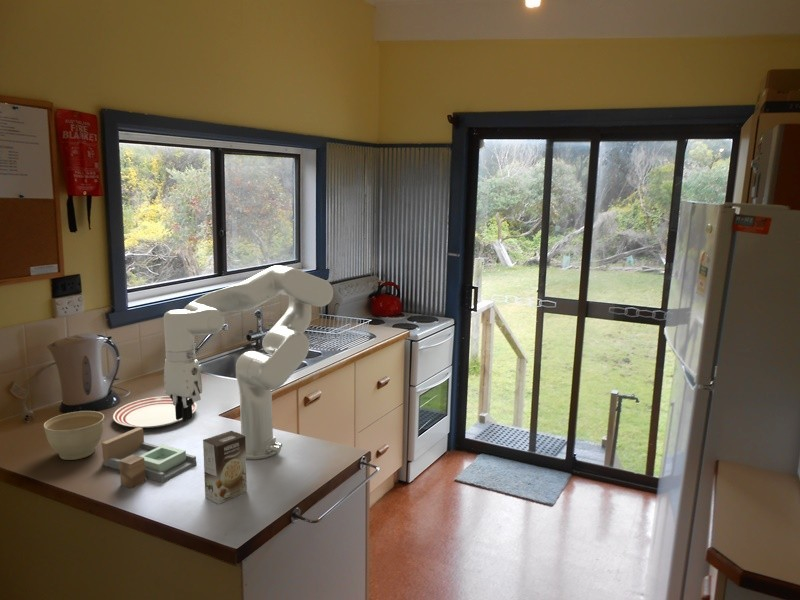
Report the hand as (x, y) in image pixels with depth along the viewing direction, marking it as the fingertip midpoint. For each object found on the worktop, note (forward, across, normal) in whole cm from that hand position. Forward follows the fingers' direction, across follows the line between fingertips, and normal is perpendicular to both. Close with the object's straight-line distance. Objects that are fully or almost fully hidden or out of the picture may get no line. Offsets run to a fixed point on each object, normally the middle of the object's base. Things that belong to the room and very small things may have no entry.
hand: (184, 418), depth 171 cm
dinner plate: (+18, +42, -27) cm, 53 cm away
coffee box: (+17, -17, +3) cm, 24 cm away
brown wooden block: (+17, +10, +10) cm, 22 cm away
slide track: (+17, +15, 0) cm, 23 cm away
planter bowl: (+17, +40, +5) cm, 44 cm away
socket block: (+16, +10, 0) cm, 19 cm away
